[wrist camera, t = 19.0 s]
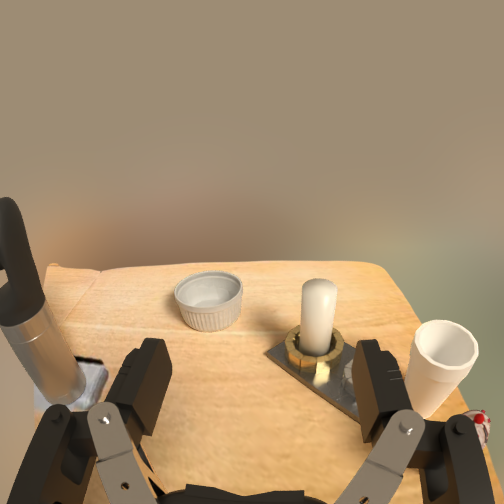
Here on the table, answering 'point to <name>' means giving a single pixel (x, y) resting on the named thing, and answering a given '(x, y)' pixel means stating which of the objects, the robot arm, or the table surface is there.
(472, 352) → the foam cup
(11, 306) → the robot arm
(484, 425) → the ice cream cone
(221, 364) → the table surface
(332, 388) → the grey ring holder base
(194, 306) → the ramekin
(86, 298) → the table surface
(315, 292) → the white rounded cylinder
